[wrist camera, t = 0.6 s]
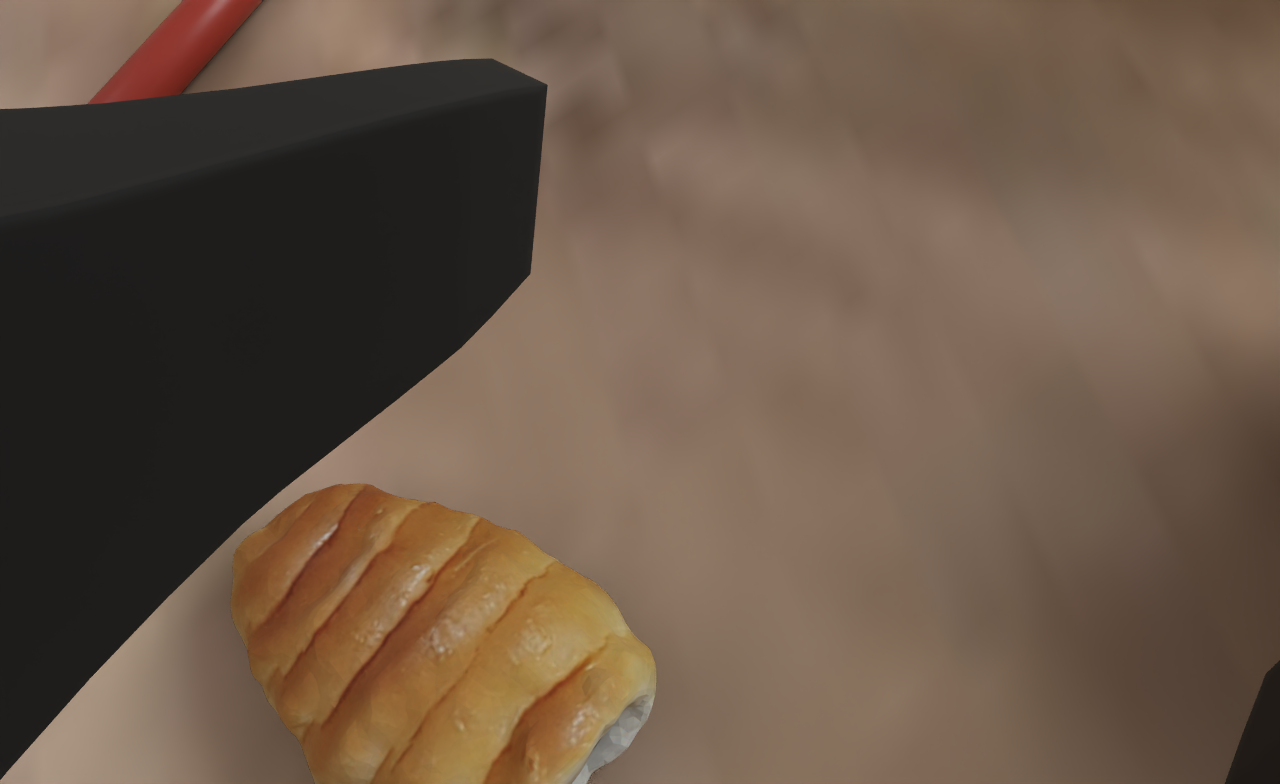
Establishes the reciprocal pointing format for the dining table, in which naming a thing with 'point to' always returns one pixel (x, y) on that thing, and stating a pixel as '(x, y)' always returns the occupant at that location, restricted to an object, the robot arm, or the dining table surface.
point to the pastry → (433, 646)
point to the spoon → (177, 50)
